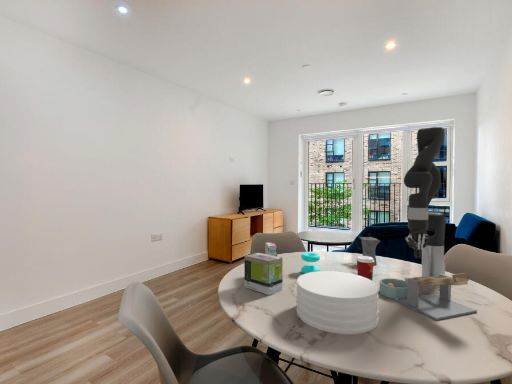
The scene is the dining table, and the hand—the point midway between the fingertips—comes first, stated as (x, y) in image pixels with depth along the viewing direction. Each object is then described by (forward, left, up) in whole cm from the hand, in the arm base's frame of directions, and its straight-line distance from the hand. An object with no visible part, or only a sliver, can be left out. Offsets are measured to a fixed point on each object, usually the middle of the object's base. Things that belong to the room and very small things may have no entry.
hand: (417, 257), depth 120 cm
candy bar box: (+52, -41, -16) cm, 68 cm away
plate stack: (+46, +6, -16) cm, 49 cm away
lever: (+5, +12, -6) cm, 15 cm away
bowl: (+10, -2, -15) cm, 18 cm away
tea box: (+62, -25, -16) cm, 69 cm away
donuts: (+30, -39, -16) cm, 52 cm away
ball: (+10, -5, -13) cm, 17 cm away
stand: (+6, +13, -15) cm, 21 cm away
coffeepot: (-12, -45, -16) cm, 49 cm away
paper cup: (+18, -11, -15) cm, 26 cm away
